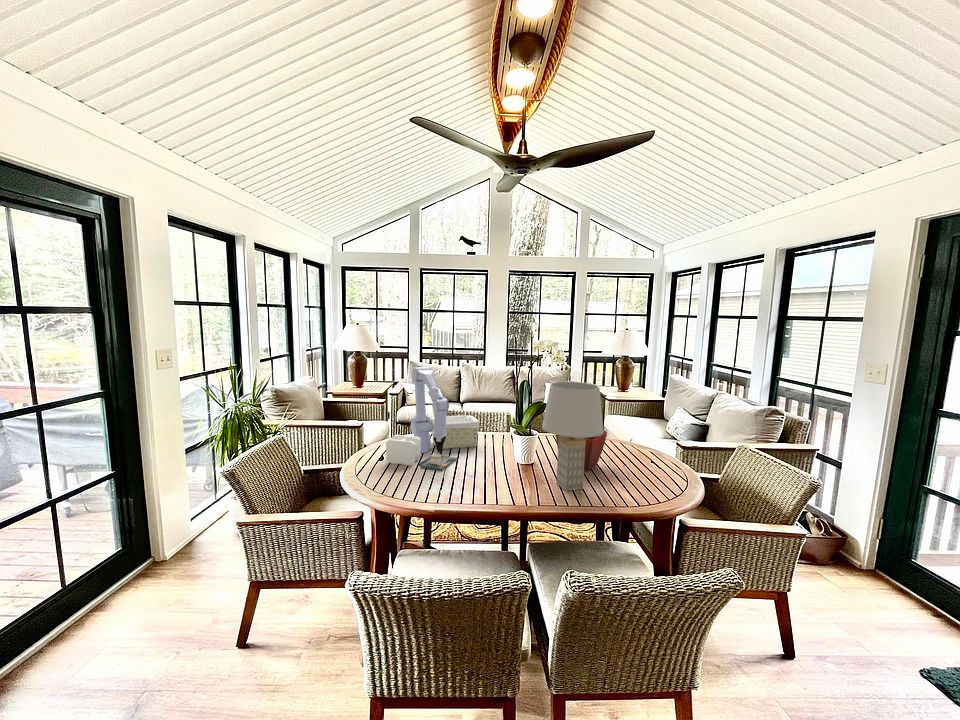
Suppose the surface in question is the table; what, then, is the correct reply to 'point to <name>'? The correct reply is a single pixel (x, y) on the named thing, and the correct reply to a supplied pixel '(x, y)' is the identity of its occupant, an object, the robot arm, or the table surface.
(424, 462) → the cords
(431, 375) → the robot arm
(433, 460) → the white and orange block
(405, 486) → the table surface
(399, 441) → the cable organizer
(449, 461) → the panel
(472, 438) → the storage basket
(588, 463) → the plant pot
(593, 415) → the lamp
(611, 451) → the table surface
